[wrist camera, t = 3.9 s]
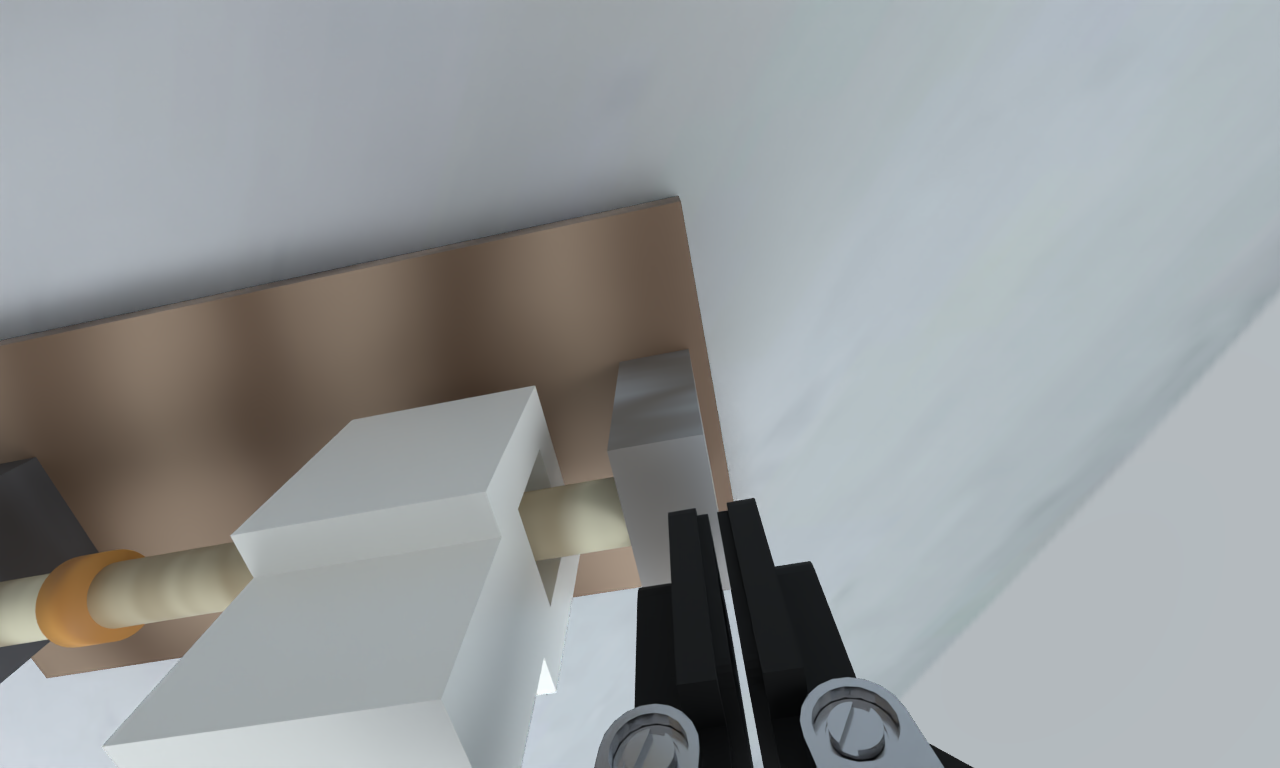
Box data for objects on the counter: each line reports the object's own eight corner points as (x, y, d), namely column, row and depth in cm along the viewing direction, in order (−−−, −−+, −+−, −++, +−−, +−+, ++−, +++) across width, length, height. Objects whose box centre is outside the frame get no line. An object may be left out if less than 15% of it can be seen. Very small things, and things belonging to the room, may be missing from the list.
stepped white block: (535, 385, 16) (415, 641, 8) (581, 544, 17) (523, 882, 9) (352, 420, 16) (62, 695, 8) (416, 570, 18) (230, 914, 10)
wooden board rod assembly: (678, 196, 17) (697, 237, 10) (739, 543, 21) (781, 737, 15) (-121, 366, 19) (-550, 494, 13) (81, 646, 24) (-152, 856, 17)
